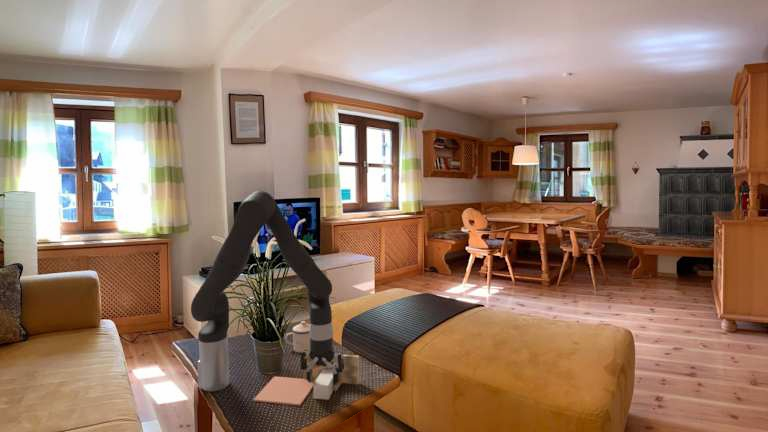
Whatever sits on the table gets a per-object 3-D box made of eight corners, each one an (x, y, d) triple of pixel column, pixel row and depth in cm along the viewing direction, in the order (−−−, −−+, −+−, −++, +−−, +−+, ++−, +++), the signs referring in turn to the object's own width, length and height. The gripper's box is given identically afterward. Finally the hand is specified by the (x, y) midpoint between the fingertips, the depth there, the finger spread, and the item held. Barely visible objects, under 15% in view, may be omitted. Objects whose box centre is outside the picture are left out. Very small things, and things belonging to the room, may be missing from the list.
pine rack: (297, 388, 151) (296, 360, 149) (305, 378, 158) (304, 351, 157) (354, 393, 147) (353, 364, 146) (359, 382, 154) (358, 355, 153)
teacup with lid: (314, 343, 188) (314, 317, 187) (315, 352, 180) (314, 324, 178) (286, 345, 186) (285, 319, 185) (285, 354, 177) (284, 327, 176)
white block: (313, 399, 144) (313, 384, 143) (322, 382, 155) (322, 369, 154) (328, 400, 143) (328, 385, 143) (336, 383, 154) (336, 370, 154)
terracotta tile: (253, 401, 142) (253, 399, 142) (274, 377, 158) (274, 376, 158) (300, 405, 139) (300, 404, 139) (316, 381, 155) (316, 380, 155)
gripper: (296, 338, 141) (298, 386, 143) (339, 340, 138) (340, 390, 140) (305, 329, 148) (306, 375, 150) (345, 332, 145) (346, 379, 147)
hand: (322, 382), depth 145 cm, fingers open, 8 cm apart
